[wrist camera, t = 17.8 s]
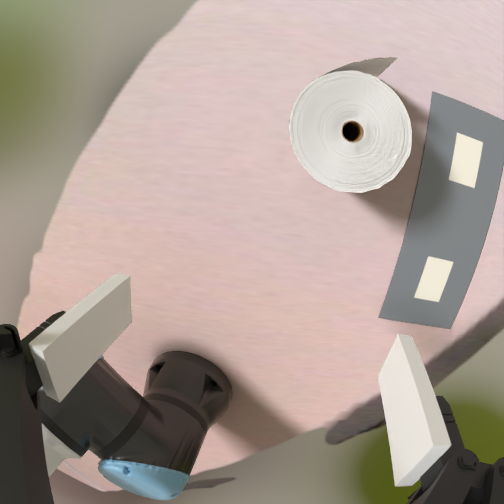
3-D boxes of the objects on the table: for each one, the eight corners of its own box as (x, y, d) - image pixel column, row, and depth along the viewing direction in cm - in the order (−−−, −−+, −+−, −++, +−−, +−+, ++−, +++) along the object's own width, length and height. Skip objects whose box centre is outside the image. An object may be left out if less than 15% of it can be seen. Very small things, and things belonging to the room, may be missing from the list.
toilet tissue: (300, 179, 36) (293, 195, 27) (290, 79, 32) (280, 58, 23) (389, 177, 33) (414, 193, 24) (382, 77, 29) (404, 57, 20)
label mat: (449, 328, 38) (450, 329, 38) (378, 317, 40) (378, 318, 40) (508, 123, 27) (509, 123, 27) (432, 91, 28) (432, 91, 28)
